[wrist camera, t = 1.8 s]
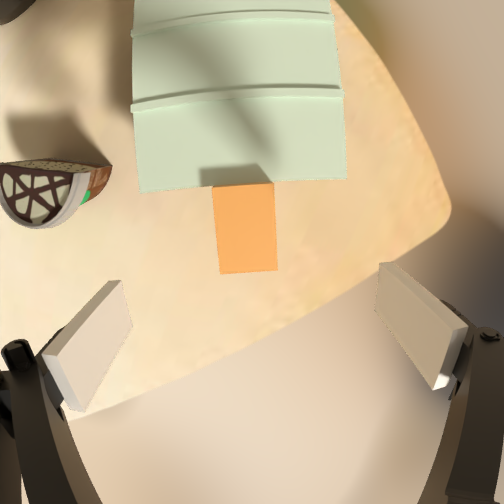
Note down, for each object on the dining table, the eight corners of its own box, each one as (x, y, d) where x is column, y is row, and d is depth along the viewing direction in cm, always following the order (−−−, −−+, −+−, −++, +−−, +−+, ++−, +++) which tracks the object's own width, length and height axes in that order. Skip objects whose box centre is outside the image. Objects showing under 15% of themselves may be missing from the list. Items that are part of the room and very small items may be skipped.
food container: (38, 204, 31) (-12, 222, 21) (42, 157, 29) (-10, 164, 20) (117, 219, 32) (74, 245, 23) (123, 167, 30) (79, 174, 21)
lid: (141, -15, 16) (131, -31, 13) (317, -28, 16) (325, -45, 13) (156, 263, 24) (146, 278, 21) (340, 251, 24) (352, 264, 21)
